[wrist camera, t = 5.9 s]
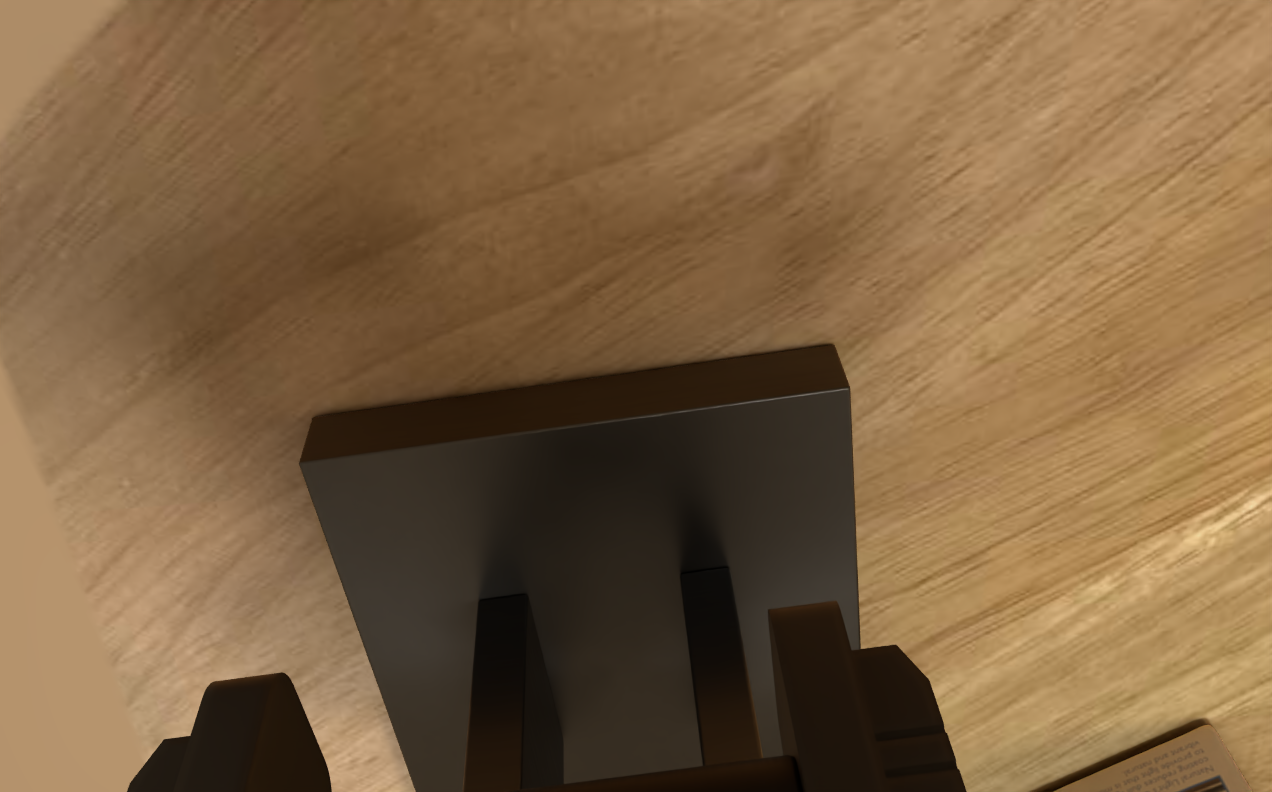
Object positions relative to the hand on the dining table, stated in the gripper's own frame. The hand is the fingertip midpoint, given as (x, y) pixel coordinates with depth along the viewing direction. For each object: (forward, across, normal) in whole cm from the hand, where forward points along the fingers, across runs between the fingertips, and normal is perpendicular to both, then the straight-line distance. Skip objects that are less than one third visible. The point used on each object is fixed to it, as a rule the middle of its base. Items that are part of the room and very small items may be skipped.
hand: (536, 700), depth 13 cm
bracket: (+10, 0, +9) cm, 14 cm away
